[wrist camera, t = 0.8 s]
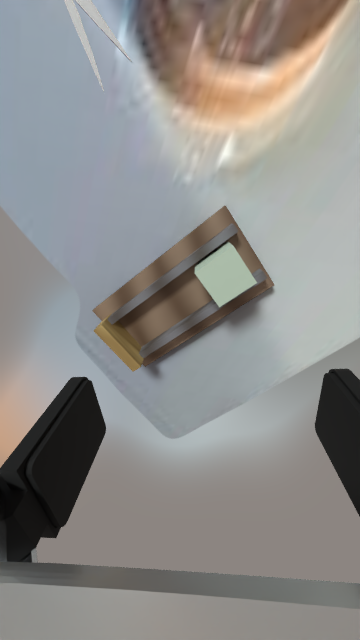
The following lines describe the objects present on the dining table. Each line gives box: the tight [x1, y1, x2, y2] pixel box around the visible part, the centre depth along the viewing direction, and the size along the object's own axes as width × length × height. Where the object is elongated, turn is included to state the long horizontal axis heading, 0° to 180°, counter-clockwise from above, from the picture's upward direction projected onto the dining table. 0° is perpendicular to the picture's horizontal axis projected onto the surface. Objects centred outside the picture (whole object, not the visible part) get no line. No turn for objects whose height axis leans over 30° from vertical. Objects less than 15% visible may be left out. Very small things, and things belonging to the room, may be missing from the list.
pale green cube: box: [195, 241, 257, 307], centre depth 29 cm, size 5×5×5 cm
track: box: [92, 206, 274, 371], centre depth 32 cm, size 23×12×6 cm, turn 127°
